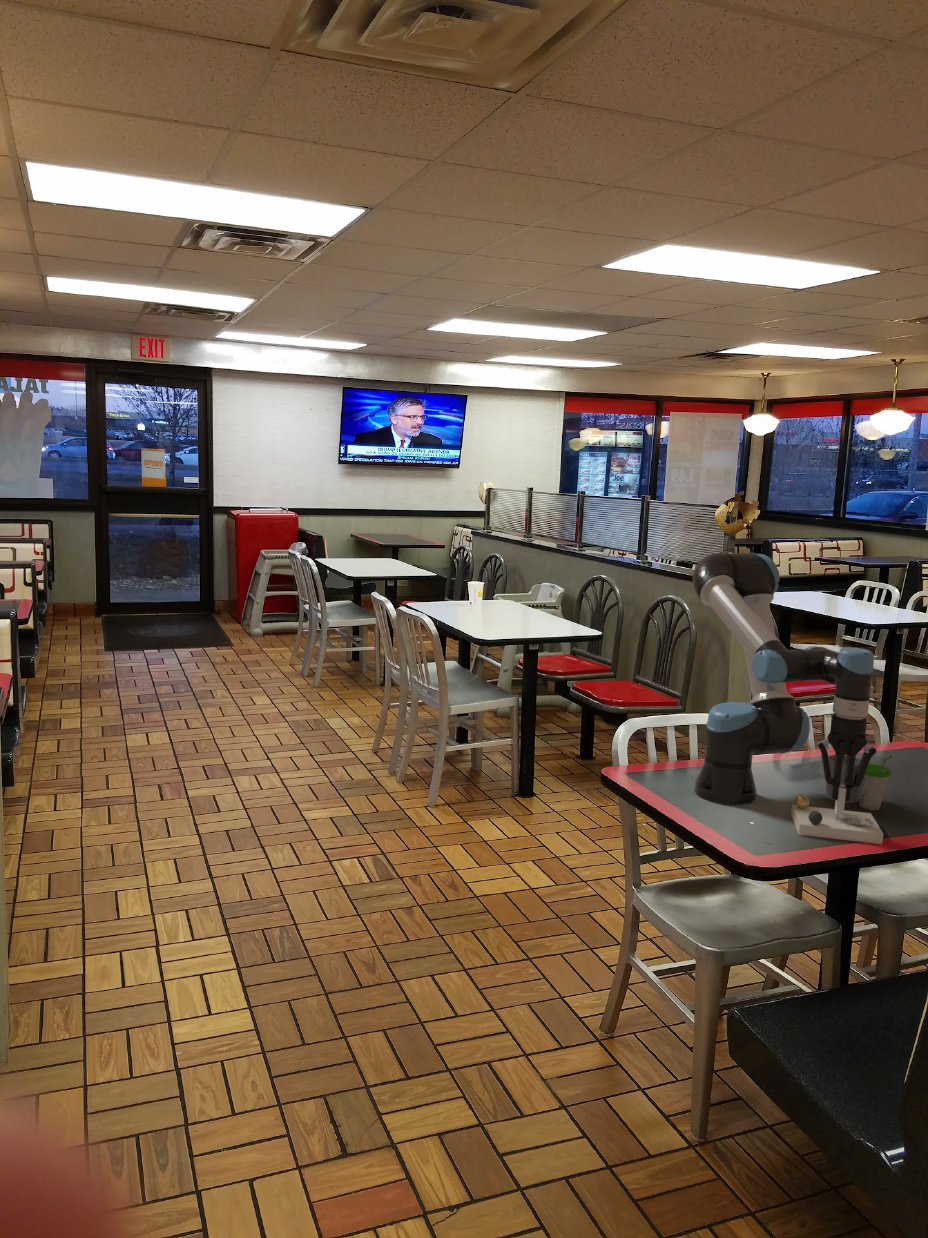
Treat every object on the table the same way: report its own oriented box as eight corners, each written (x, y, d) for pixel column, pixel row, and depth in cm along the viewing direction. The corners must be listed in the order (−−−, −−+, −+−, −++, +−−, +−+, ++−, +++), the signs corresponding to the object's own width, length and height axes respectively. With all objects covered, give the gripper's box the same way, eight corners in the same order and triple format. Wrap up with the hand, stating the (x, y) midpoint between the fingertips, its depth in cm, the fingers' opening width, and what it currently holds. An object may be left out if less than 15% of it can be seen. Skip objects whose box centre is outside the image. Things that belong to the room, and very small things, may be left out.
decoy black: (808, 825, 213) (810, 813, 213) (806, 820, 216) (808, 808, 215) (822, 827, 212) (824, 814, 212) (820, 822, 215) (821, 809, 215)
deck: (798, 834, 214) (799, 824, 213) (791, 814, 226) (792, 804, 226) (882, 844, 210) (883, 833, 210) (869, 823, 223) (870, 813, 222)
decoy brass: (795, 809, 223) (796, 796, 222) (793, 804, 226) (794, 791, 225) (810, 811, 222) (811, 797, 221) (808, 806, 225) (809, 793, 225)
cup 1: (860, 795, 243) (864, 758, 241) (858, 805, 235) (863, 767, 234) (825, 789, 246) (829, 752, 244) (823, 798, 239) (827, 761, 237)
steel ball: (858, 829, 215) (843, 828, 216) (858, 832, 218) (843, 832, 219) (857, 815, 216) (842, 815, 218) (857, 819, 219) (843, 818, 220)
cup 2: (847, 801, 237) (854, 745, 235) (878, 803, 237) (885, 746, 235) (859, 813, 229) (866, 754, 227) (891, 814, 229) (898, 756, 227)
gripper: (822, 716, 211) (812, 815, 215) (883, 722, 209) (871, 822, 213) (817, 708, 219) (807, 804, 222) (876, 714, 216) (865, 810, 220)
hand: (838, 813), depth 218 cm, fingers closed
